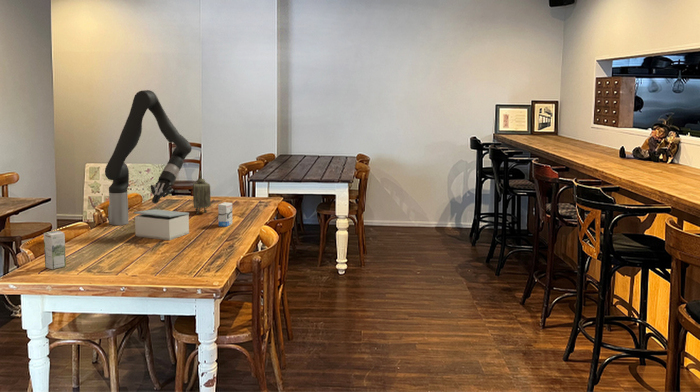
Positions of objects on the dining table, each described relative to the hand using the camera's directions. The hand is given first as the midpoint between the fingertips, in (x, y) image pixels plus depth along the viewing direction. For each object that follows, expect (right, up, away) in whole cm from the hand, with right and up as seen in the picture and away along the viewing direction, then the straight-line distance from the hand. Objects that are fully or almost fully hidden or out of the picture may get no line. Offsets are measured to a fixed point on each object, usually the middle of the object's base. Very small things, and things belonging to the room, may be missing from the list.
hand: (154, 202), depth 298 cm
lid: (+2, -6, +6) cm, 9 cm away
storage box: (+2, -16, +8) cm, 18 cm away
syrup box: (-24, -26, -50) cm, 61 cm away
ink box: (+28, -13, +34) cm, 46 cm away
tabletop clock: (+8, -7, +65) cm, 66 cm away
